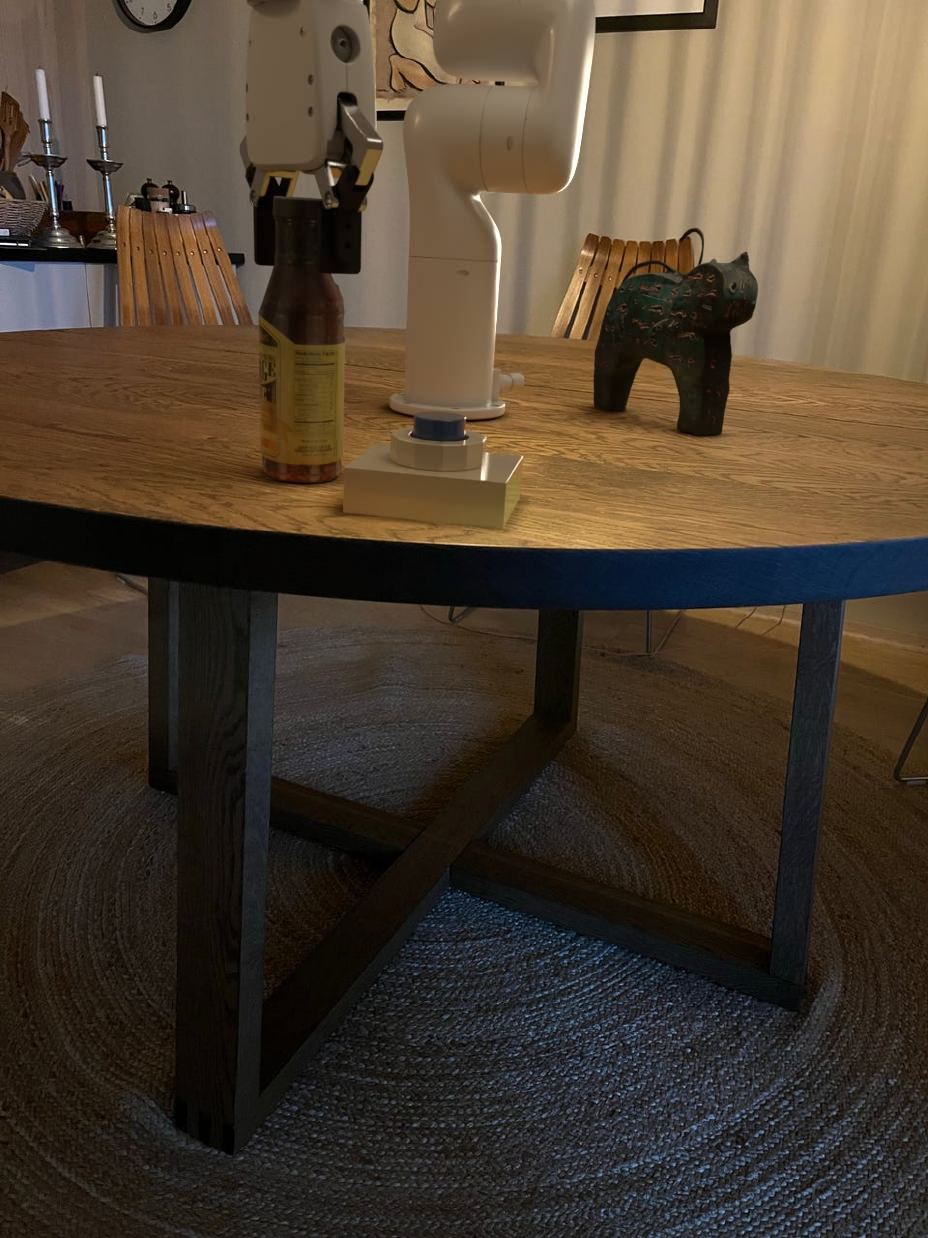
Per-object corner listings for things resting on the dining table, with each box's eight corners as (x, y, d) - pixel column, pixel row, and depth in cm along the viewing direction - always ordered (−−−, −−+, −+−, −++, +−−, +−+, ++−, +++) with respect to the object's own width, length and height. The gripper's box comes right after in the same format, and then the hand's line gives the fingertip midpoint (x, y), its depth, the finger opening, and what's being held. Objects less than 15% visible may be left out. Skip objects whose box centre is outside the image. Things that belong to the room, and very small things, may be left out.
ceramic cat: (741, 437, 104) (773, 231, 96) (695, 440, 100) (725, 227, 93) (617, 405, 119) (637, 226, 112) (575, 407, 116) (592, 222, 109)
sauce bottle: (265, 466, 79) (260, 195, 72) (344, 469, 80) (347, 200, 73) (256, 486, 73) (250, 192, 66) (342, 488, 74) (345, 198, 67)
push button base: (377, 483, 76) (378, 418, 74) (520, 498, 74) (525, 431, 72) (342, 513, 68) (343, 439, 66) (503, 529, 66) (508, 455, 64)
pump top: (419, 434, 71) (420, 409, 71) (468, 438, 71) (470, 413, 70) (407, 443, 68) (408, 417, 67) (459, 447, 67) (460, 422, 67)
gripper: (433, -25, 61) (422, 279, 67) (287, 9, 73) (289, 263, 79) (329, -53, 56) (327, 277, 62) (191, -11, 68) (201, 260, 75)
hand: (305, 267), depth 71 cm, fingers open, 7 cm apart
